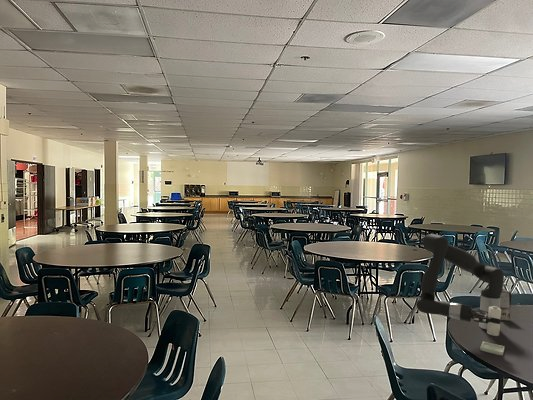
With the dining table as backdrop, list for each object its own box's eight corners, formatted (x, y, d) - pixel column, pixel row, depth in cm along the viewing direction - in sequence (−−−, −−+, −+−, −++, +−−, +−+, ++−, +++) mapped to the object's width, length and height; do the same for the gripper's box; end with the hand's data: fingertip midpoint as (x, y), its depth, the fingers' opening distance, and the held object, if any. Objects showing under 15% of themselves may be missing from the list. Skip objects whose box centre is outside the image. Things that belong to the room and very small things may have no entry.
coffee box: (510, 320, 229) (512, 293, 229) (498, 319, 231) (499, 292, 230) (504, 315, 238) (505, 289, 238) (492, 314, 240) (494, 288, 239)
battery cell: (487, 330, 190) (489, 304, 189) (499, 333, 187) (501, 306, 186) (486, 333, 185) (488, 306, 185) (498, 336, 183) (500, 309, 182)
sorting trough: (482, 344, 193) (482, 341, 193) (504, 349, 188) (504, 346, 188) (480, 350, 185) (480, 347, 185) (502, 355, 180) (502, 352, 180)
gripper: (458, 307, 188) (500, 316, 178) (463, 301, 200) (502, 308, 190) (457, 323, 188) (498, 332, 179) (462, 315, 200) (501, 324, 190)
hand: (500, 320), depth 184 cm, fingers closed on battery cell, 5 cm apart
